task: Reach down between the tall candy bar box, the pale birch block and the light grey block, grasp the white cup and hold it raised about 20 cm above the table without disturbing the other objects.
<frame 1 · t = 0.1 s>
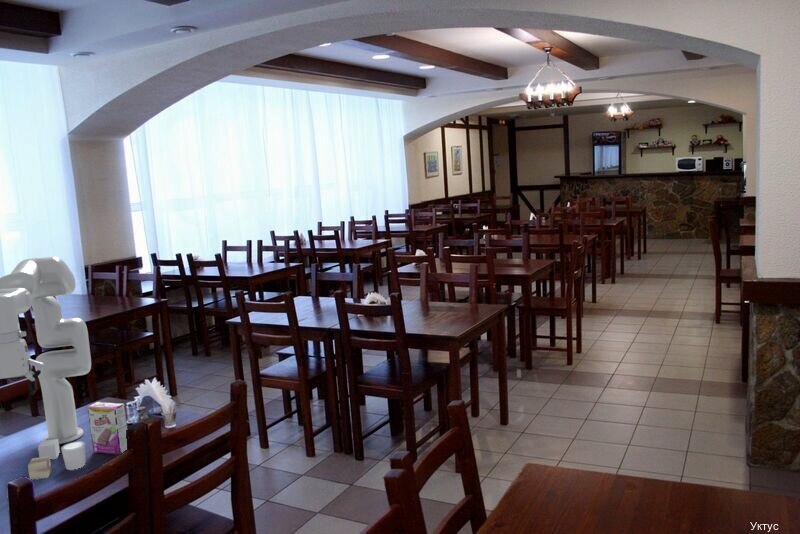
hand: (14, 395, 188), 31 cm above the table, tool pointing down, fingers open, 9 cm apart
candy bar box: (111, 451, 223), on the table
grey block: (50, 457, 221), on the table
birch block: (41, 475, 208), on the table
white cup: (76, 466, 213), on the table
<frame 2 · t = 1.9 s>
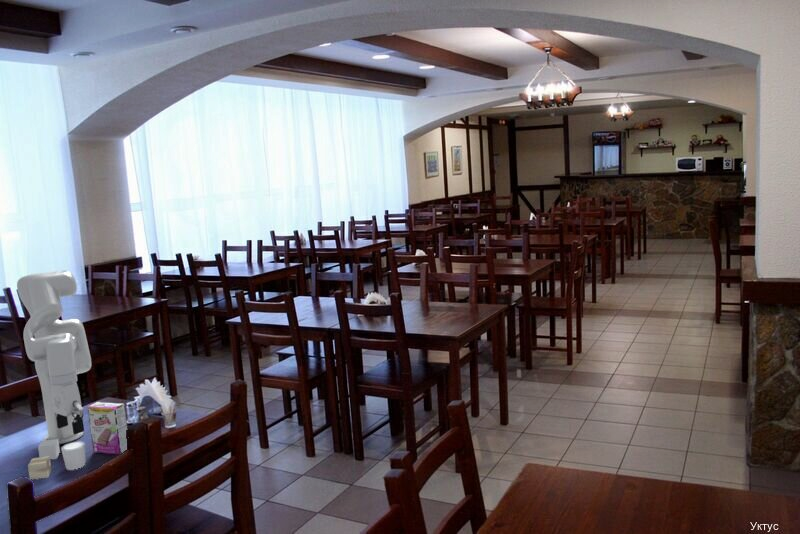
hand: (70, 429, 211), 12 cm above the table, tool pointing down, fingers open, 9 cm apart
nothing on the table moved.
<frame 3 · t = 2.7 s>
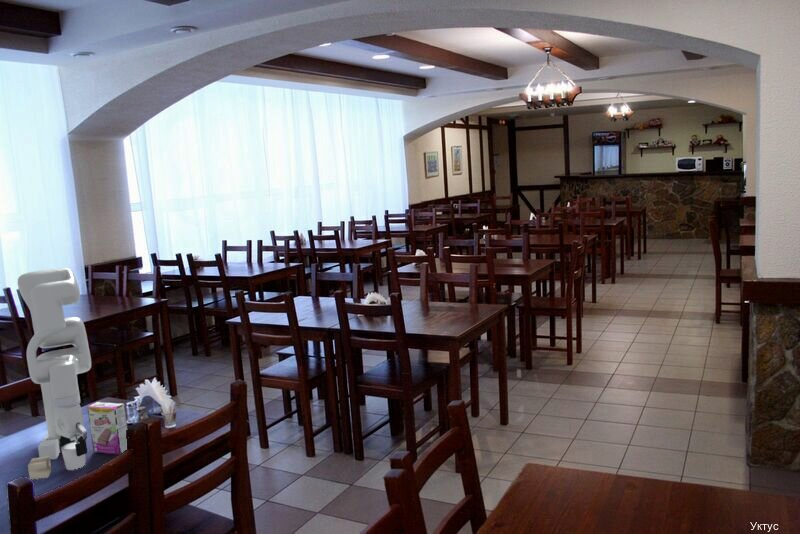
hand: (74, 451, 211), 5 cm above the table, tool pointing down, fingers open, 9 cm apart
nothing on the table moved.
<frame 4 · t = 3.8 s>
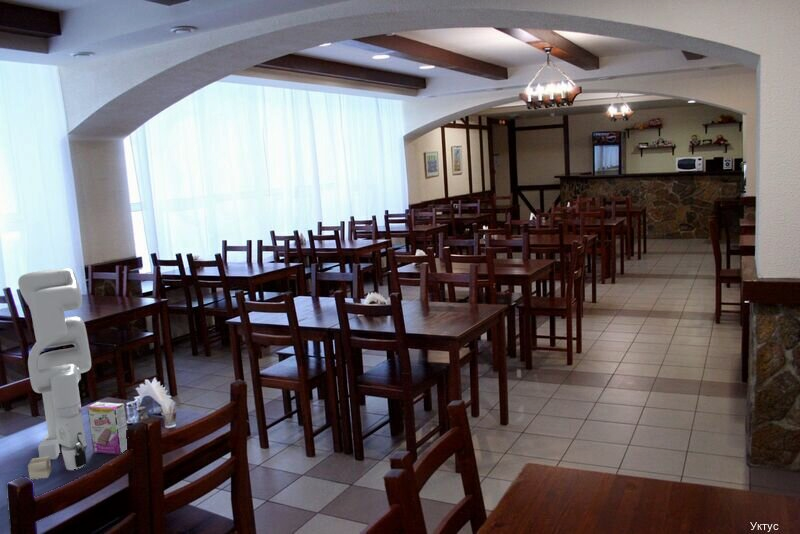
hand: (75, 462, 213), 1 cm above the table, tool pointing down, fingers closed on white cup, 6 cm apart
white cup: (75, 466, 213), on the table, touching gripper
everything else where it was.
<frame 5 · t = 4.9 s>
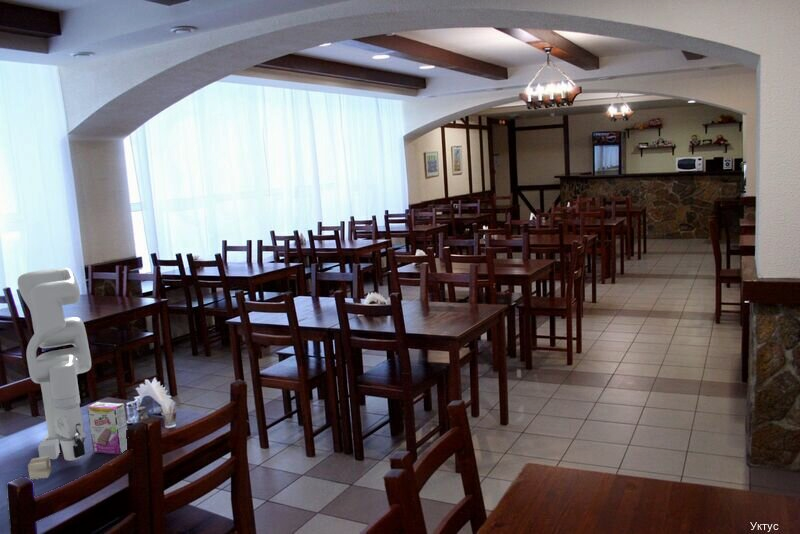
hand: (73, 452, 213), 4 cm above the table, tool pointing down, fingers closed on white cup, 6 cm apart
white cup: (74, 456, 213), point 3 cm above the table, touching gripper
everything else where it was.
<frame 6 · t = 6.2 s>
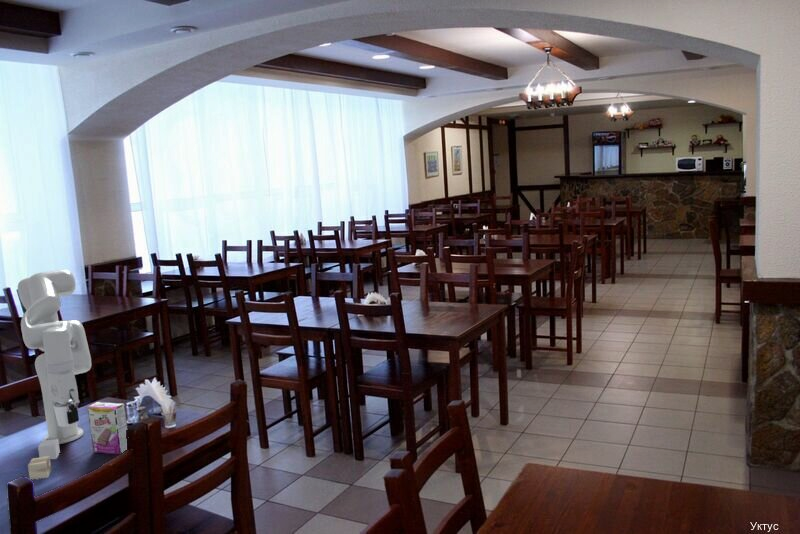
hand: (67, 419, 211), 15 cm above the table, tool pointing down, fingers closed on white cup, 6 cm apart
white cup: (68, 423, 212), point 14 cm above the table, touching gripper
everything else where it was.
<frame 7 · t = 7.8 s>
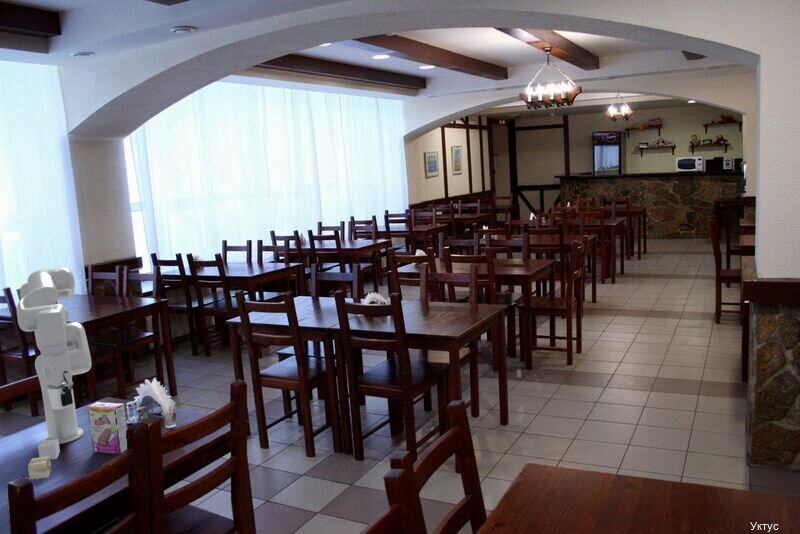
hand: (61, 402, 211), 21 cm above the table, tool pointing down, fingers closed on white cup, 6 cm apart
white cup: (62, 406, 211), point 20 cm above the table, touching gripper
everything else where it was.
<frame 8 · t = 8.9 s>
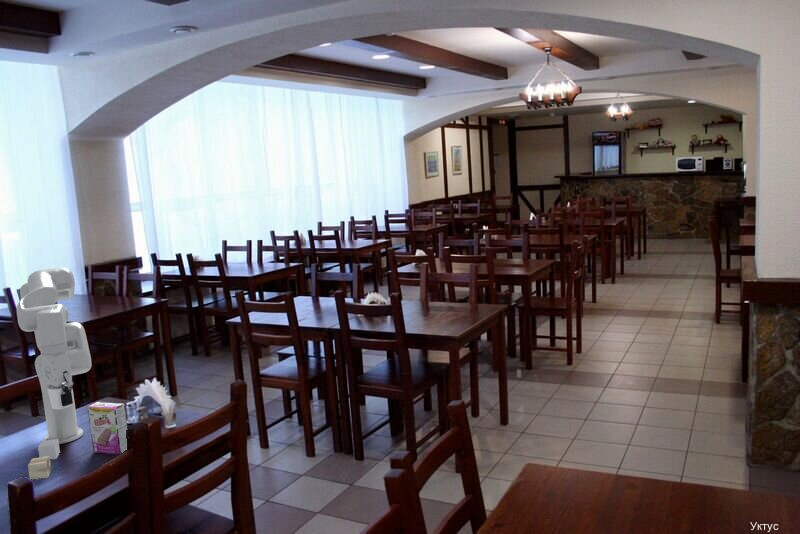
hand: (61, 402, 211), 21 cm above the table, tool pointing down, fingers closed on white cup, 6 cm apart
white cup: (62, 406, 211), point 20 cm above the table, touching gripper
everything else where it was.
at the end: the gripper is holding white cup; white cup point 19.5 cm above the table; birch block moved 0.1 cm from its start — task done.
